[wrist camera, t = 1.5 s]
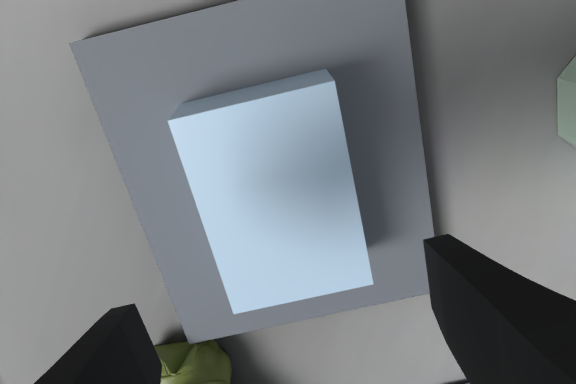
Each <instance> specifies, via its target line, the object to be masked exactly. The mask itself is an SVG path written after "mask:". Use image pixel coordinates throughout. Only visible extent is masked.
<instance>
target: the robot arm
mask: <svg viewBox="0 0 576 384" xmlns="http://www.w3.org/2000/svg"><path fill="white" fill-rule="evenodd" d="M423 244H424V252H425V260H426V268H427V275H428V283H429V291H430V299H431V306H432V310H433V312H434V314H435V317H436V319H437V322H438V324H439V327H440V329H441V331H442V334H443V336H444V338H445V341H446V343H447V345H448V347H449V348H450V350H451V352H452V354H453V356H454V357H455V359H456V361H457V363H458V364H459V366H460V368H461V370H462V371H463V373H464V375H465V377H466V378H467V380H468V382H469V383H467V384H576V301H575V300H573V299H570V298H568V297H566V296H563V295H561V294H559V293H557V292H554V291H552V290H550V289H548V288H546V287H544V286H542V285H540V284H537V283H535V282H533V281H531V280H529V279H527V278H525V277H523V276H521V275H519V274H517V273H516V272H514V271H512V270H510V269H508V268H506V267H504V266H503V265H501V264H499V263H497V262H495V261H494V260H492V259H490V258H488V257H487V256H485V255H483V254H481V253H480V252H478V251H476V250H475V249H473V248H471V247H470V246H468V245H466V244H465V243H463V242H461V241H460V240H458V239H456V238H454V237H453V236H451V235H449V234H446V235H441V236H437V237H432V238H428V239H423ZM161 373H162V363H161V361H160V359H159V357H158V355H157V352H156V350H155V348H154V346H153V343H152V341H151V339H150V337H149V334H148V332H147V330H146V328H145V325H144V323H143V321H142V319H141V317H140V314H139V312H138V310H137V308H136V305H135V304H130V305H126V306H121V307H117V308H112V309H110V310H109V311H108V312H107V313H106V314H104V315H103V316H102V317H101V318H100V319H99V320H98V321H97V322H96V323H95V324H94V325H93V326H92V327H91V328H90V329H89V330H88V331H87V332H86V333H85V334H84V335H83V336H82V337H81V338H80V339H79V340H78V341H77V342H76V343H75V344H74V345H73V346H72V347H71V348H70V349H69V350H68V351H67V352H66V353H65V354H64V355H63V356H62V357H61V358H60V359H59V360H58V361H57V362H56V363H55V364H54V365H53V366H52V367H51V368H50V369H49V370H48V371H47V372H46V373H45V374H44V375H43V376H41V377H40V378H39V379H38V380H37V381H36V382H35V383H34V384H161Z"/></svg>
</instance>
